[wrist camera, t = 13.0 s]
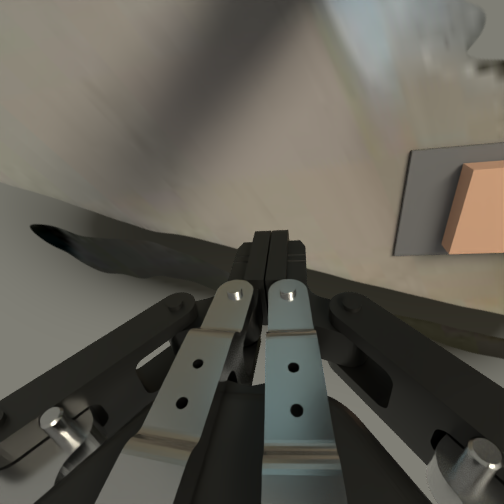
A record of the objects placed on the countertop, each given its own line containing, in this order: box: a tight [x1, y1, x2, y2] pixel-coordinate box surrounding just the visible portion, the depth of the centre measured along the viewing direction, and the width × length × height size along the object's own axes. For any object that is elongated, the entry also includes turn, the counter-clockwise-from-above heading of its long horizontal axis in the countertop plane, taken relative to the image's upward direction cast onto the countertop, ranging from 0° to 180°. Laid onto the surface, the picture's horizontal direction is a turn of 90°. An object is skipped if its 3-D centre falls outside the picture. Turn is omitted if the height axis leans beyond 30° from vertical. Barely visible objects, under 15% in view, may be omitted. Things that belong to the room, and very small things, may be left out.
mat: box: [394, 142, 504, 256], centre depth 39 cm, size 23×16×1 cm
